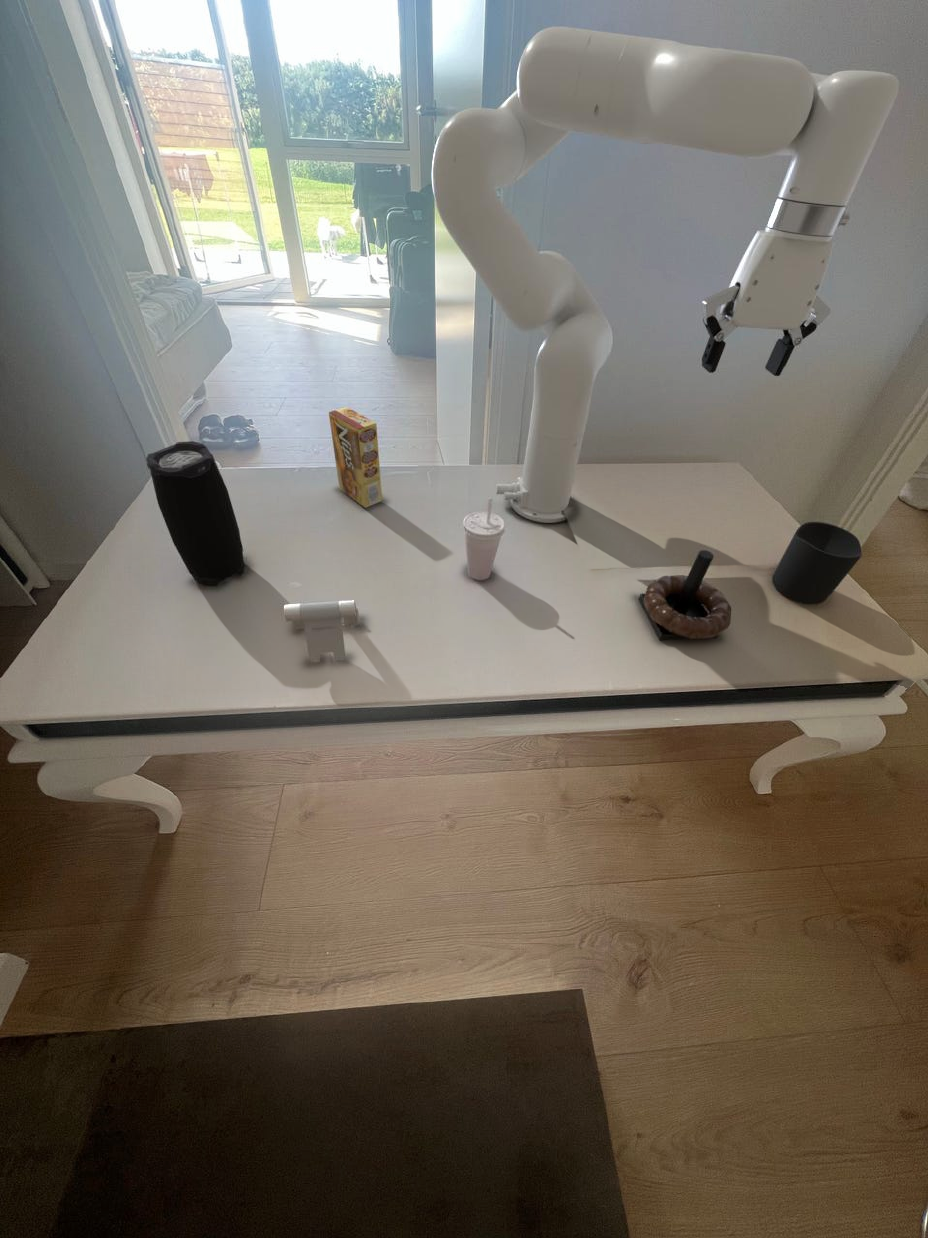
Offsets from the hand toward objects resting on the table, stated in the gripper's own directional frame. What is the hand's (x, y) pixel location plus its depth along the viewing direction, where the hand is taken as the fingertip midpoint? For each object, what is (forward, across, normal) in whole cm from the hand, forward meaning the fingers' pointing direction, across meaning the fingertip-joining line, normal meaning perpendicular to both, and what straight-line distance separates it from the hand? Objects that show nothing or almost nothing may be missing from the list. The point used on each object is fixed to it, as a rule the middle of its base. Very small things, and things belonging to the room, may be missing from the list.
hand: (739, 370), depth 74 cm
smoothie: (+30, +36, +9) cm, 47 cm away
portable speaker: (+31, +76, +9) cm, 83 cm away
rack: (+30, +6, +20) cm, 36 cm away
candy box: (+31, +56, -14) cm, 66 cm away
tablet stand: (+30, +58, +24) cm, 70 cm away
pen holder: (+29, -18, +13) cm, 37 cm away
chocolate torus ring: (+27, +5, +20) cm, 34 cm away
